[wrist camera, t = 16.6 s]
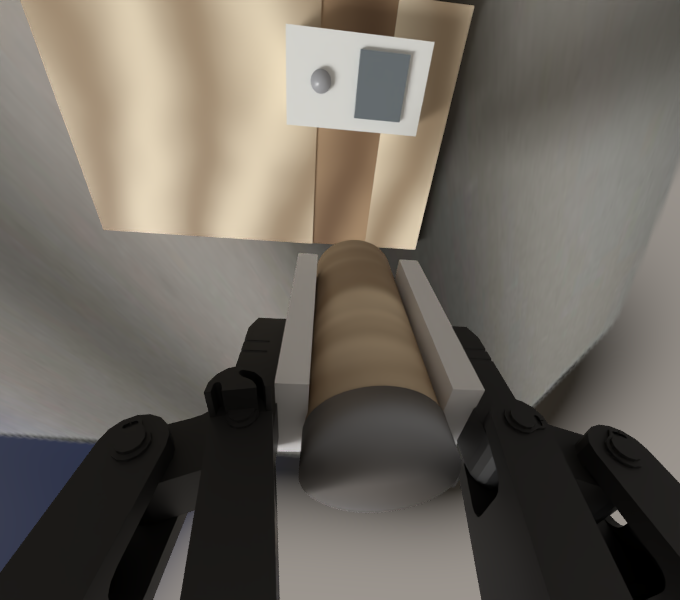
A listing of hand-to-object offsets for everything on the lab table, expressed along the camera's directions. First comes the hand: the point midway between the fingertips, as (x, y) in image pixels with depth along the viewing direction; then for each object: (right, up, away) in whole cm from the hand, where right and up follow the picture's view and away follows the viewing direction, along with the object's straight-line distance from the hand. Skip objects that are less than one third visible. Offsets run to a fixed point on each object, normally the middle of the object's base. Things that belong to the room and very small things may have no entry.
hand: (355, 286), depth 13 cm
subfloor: (-6, +10, +7) cm, 14 cm away
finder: (0, +12, +5) cm, 13 cm away
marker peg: (0, +1, +1) cm, 1 cm away
